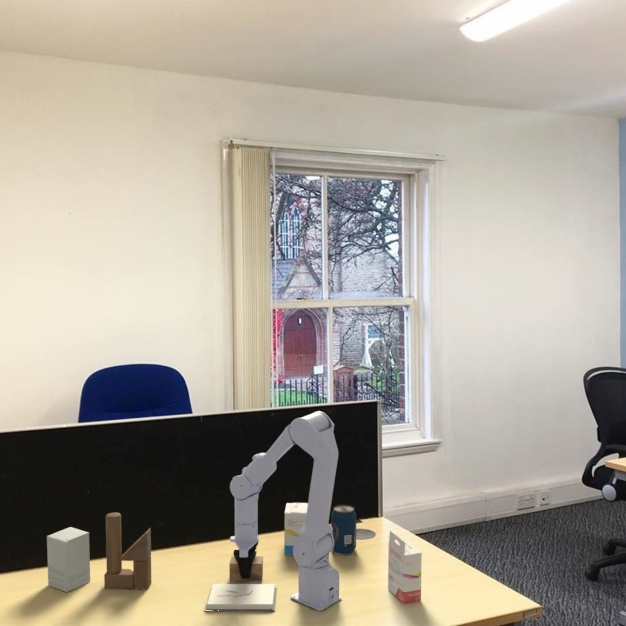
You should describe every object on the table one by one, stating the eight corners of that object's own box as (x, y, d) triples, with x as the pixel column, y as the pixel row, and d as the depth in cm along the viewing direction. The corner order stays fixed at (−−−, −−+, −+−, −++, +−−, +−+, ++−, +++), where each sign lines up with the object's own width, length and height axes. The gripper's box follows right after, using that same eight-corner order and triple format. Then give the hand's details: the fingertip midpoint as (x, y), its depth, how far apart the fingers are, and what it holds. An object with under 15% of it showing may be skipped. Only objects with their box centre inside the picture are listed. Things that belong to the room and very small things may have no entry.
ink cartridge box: (422, 601, 163) (423, 540, 162) (403, 604, 162) (404, 543, 160) (404, 585, 171) (405, 527, 170) (386, 588, 170) (387, 530, 168)
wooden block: (147, 590, 168) (146, 517, 167) (104, 589, 169) (102, 517, 167) (151, 583, 172) (150, 512, 171) (109, 582, 172) (107, 511, 171)
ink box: (314, 555, 189) (315, 513, 188) (283, 554, 189) (283, 512, 188) (315, 542, 197) (315, 502, 197) (285, 541, 198) (285, 501, 197)
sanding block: (262, 575, 177) (262, 556, 176) (261, 583, 172) (261, 563, 172) (231, 575, 177) (231, 556, 176) (229, 583, 172) (229, 563, 172)
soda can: (327, 547, 194) (327, 505, 193) (350, 544, 196) (351, 502, 195) (335, 557, 187) (336, 513, 187) (359, 554, 190) (360, 511, 189)
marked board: (276, 588, 169) (276, 582, 169) (274, 611, 158) (274, 605, 158) (211, 588, 169) (211, 582, 169) (204, 611, 158) (204, 605, 158)
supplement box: (91, 581, 173) (90, 532, 172) (66, 593, 166) (64, 542, 166) (72, 574, 177) (71, 525, 176) (47, 585, 170) (45, 535, 170)
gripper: (233, 510, 181) (233, 560, 182) (226, 531, 166) (227, 586, 167) (260, 510, 181) (260, 560, 182) (256, 531, 166) (256, 586, 167)
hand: (246, 573), depth 174 cm, fingers closed on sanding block, 4 cm apart
